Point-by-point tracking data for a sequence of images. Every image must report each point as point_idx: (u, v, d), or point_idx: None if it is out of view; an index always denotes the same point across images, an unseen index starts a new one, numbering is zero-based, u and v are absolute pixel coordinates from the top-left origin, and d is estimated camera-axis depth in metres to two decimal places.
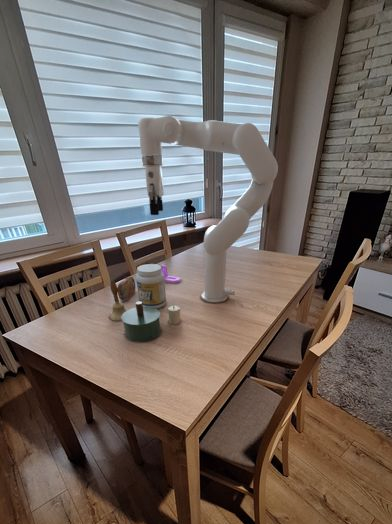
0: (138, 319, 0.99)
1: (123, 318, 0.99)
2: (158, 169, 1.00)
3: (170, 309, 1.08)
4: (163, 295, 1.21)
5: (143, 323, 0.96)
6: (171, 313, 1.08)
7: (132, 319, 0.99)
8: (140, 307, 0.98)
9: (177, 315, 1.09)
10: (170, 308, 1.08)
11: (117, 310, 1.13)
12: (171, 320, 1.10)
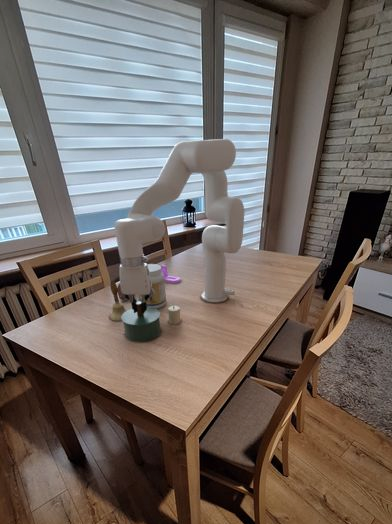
0: (138, 319, 0.99)
1: (123, 318, 0.99)
2: None
3: (170, 309, 1.08)
4: (163, 295, 1.21)
5: (143, 323, 0.96)
6: (171, 313, 1.08)
7: (132, 319, 0.99)
8: (140, 307, 0.98)
9: (177, 315, 1.09)
10: (170, 308, 1.08)
11: (117, 310, 1.13)
12: (171, 320, 1.10)
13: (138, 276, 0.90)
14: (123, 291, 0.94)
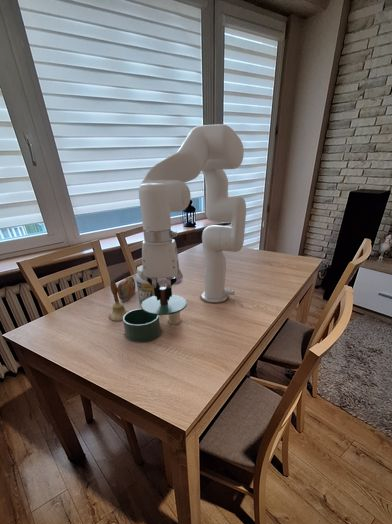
0: (162, 307, 0.84)
1: (144, 306, 0.84)
2: None
3: None
4: None
5: (168, 312, 0.81)
6: None
7: (155, 307, 0.84)
8: (164, 293, 0.83)
9: (177, 315, 1.09)
10: None
11: (117, 310, 1.13)
12: (171, 320, 1.10)
13: (165, 254, 0.75)
14: (145, 273, 0.79)
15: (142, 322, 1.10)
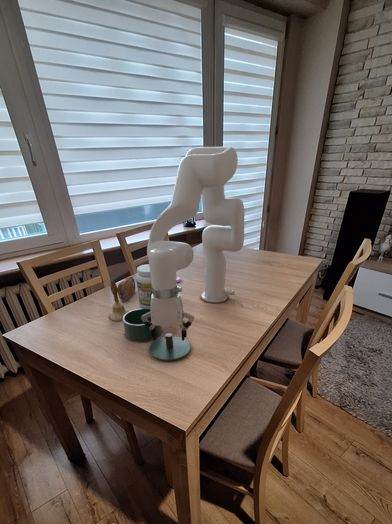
0: (168, 352, 0.92)
1: (152, 351, 0.93)
2: None
3: None
4: None
5: (174, 357, 0.90)
6: None
7: (162, 352, 0.93)
8: (170, 339, 0.92)
9: None
10: None
11: (117, 310, 1.13)
12: None
13: (171, 307, 0.84)
14: (153, 322, 0.88)
15: (142, 322, 1.10)
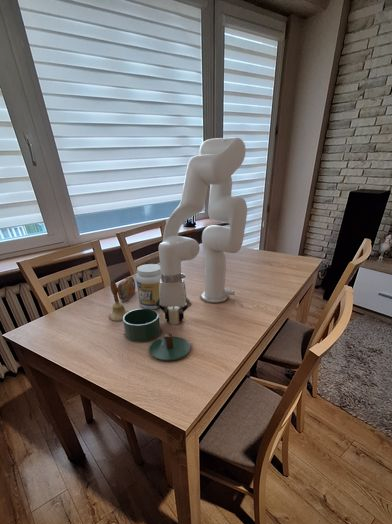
0: (168, 352, 0.92)
1: (152, 351, 0.93)
2: None
3: (170, 309, 1.08)
4: None
5: (174, 357, 0.90)
6: (171, 313, 1.08)
7: (162, 352, 0.93)
8: (170, 339, 0.92)
9: (177, 315, 1.09)
10: (170, 308, 1.08)
11: (117, 310, 1.13)
12: (171, 320, 1.10)
13: (176, 290, 1.02)
14: (161, 303, 1.06)
15: (142, 322, 1.10)
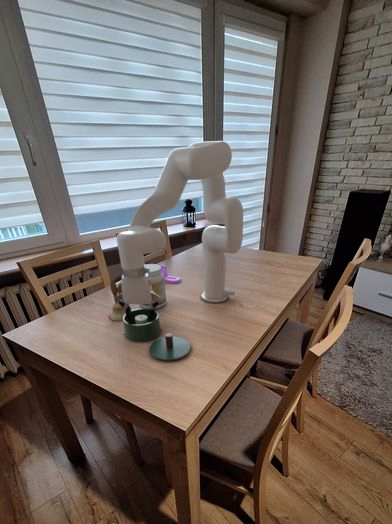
0: (168, 352, 0.92)
1: (152, 351, 0.93)
2: None
3: (137, 319, 1.01)
4: (163, 295, 1.21)
5: (174, 357, 0.90)
6: (138, 323, 1.01)
7: (162, 352, 0.93)
8: (170, 339, 0.92)
9: None
10: (137, 318, 1.02)
11: (117, 310, 1.13)
12: None
13: (140, 286, 0.92)
14: (125, 301, 0.96)
15: None
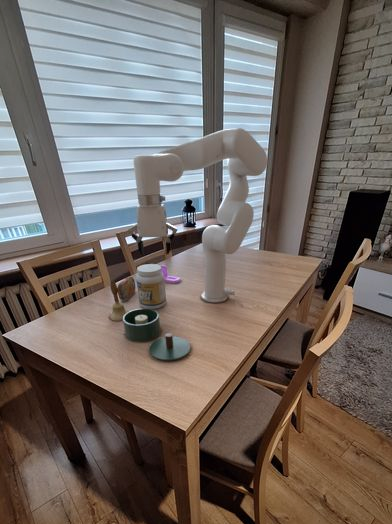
0: (168, 352, 0.92)
1: (152, 351, 0.93)
2: None
3: (137, 319, 1.01)
4: (163, 295, 1.21)
5: (174, 357, 0.90)
6: (138, 323, 1.01)
7: (162, 352, 0.93)
8: (170, 339, 0.92)
9: None
10: (137, 318, 1.02)
11: (117, 310, 1.13)
12: None
13: (155, 216, 0.91)
14: (140, 233, 0.95)
15: None
